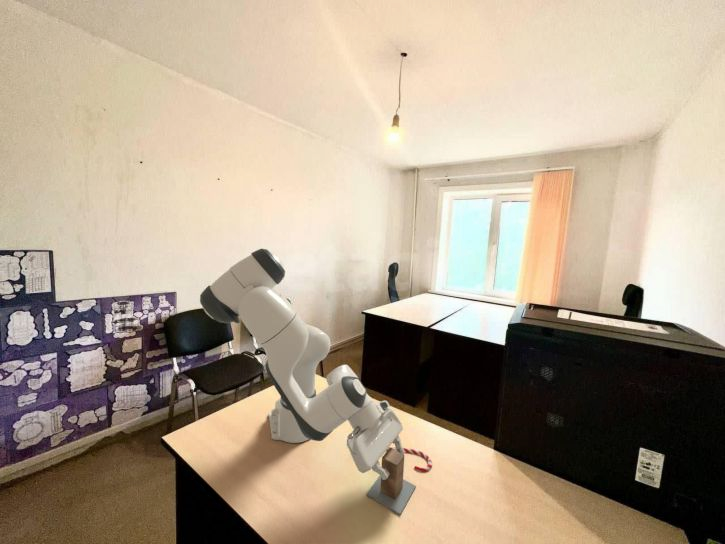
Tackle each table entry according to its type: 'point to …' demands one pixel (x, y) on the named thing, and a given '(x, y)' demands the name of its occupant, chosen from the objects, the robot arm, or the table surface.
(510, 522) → the table surface
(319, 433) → the robot arm
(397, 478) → the walnut block
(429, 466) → the candy cane
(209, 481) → the table surface
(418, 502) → the table surface
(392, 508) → the slate mat
